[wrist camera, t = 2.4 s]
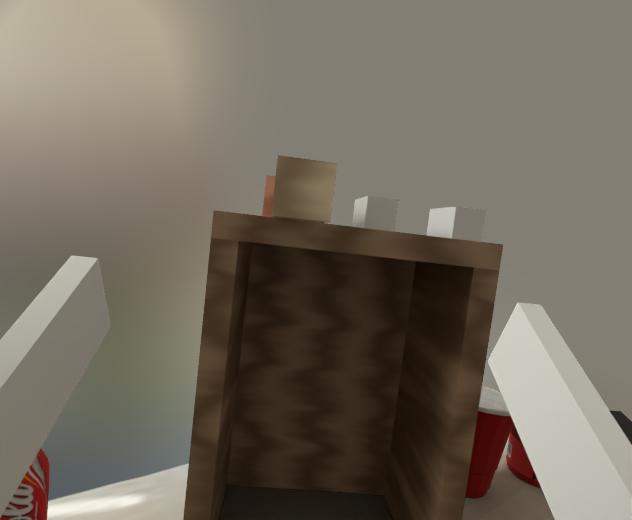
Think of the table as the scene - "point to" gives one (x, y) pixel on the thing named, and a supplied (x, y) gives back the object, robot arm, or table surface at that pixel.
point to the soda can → (31, 493)
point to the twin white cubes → (441, 220)
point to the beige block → (300, 190)
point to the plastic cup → (488, 441)
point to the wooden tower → (340, 363)
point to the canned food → (520, 459)
